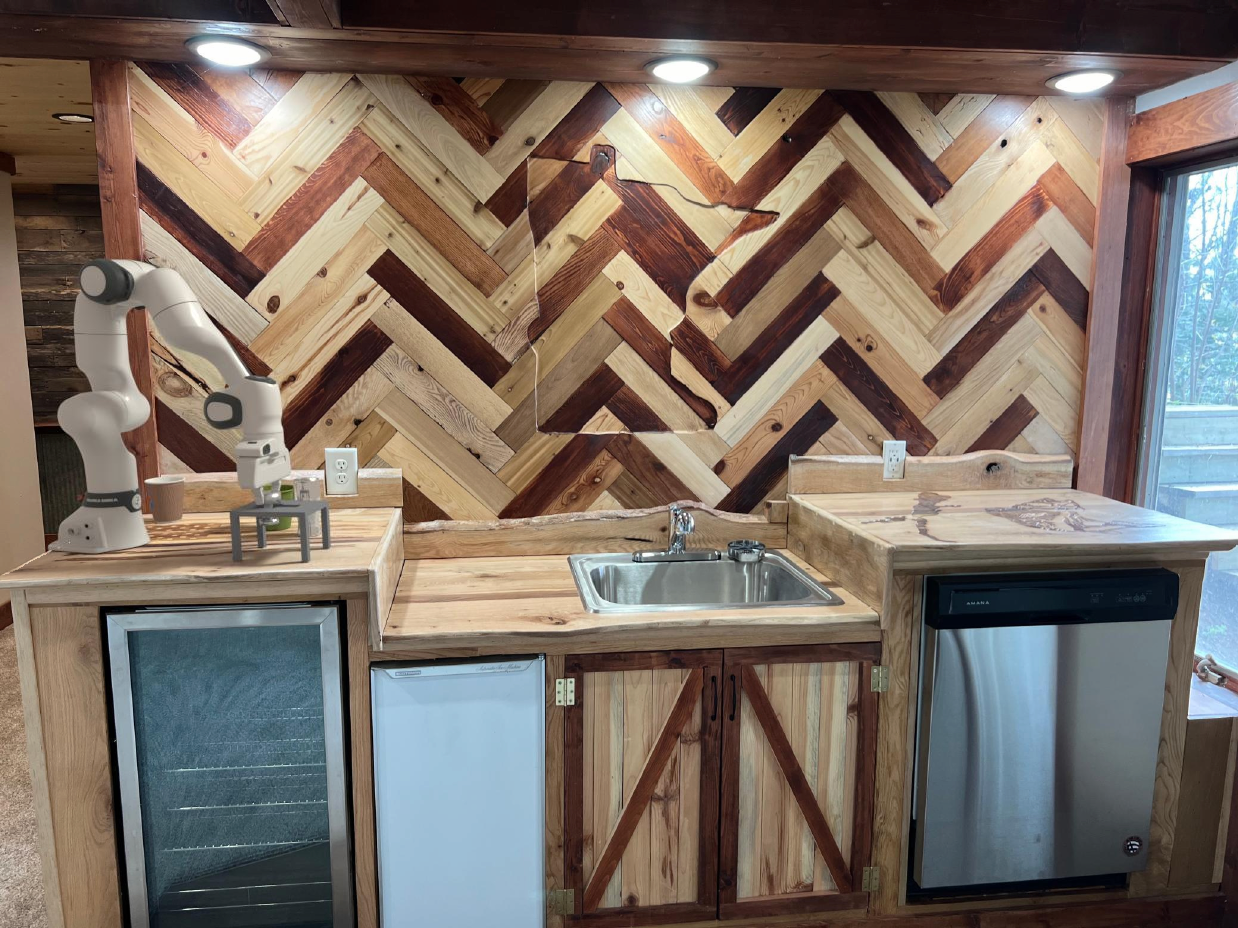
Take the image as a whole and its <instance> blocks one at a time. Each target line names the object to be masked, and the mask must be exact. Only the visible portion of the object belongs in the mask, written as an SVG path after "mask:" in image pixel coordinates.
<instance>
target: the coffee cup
mask: <svg viewBox="0 0 1238 928" xmlns="http://www.w3.org/2000/svg"><path fill="white" fill-rule="evenodd" d="M185 480H186V478H185V477H184V476H161V477H159V476H158V477H153V478H148V479H145V480H144V484H145V487H146V492H147V496H148V497H147V498H148V501H149V505H150V510H151V513H152V518H153V520H154V521H153V522H154V523H155V522H157V523H156V524H172V523H171V522H174V523H178V522H181V521H182V520H183V515H184V514H183V512H184V511H183V509H184V496H185V495H184V492H185ZM180 520H181V521H180ZM177 521H178V522H177Z"/></svg>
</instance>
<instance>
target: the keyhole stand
mask: <svg viewBox="0 0 1238 928" xmlns="http://www.w3.org/2000/svg"><path fill="white" fill-rule="evenodd" d="M319 510H320V522H321V536H322V537H321V541H322V550H329V549H331V548H332V543H331V542H332V541H331V539H332V538H331V522H330V521H331V519H330V504H329V500H326V499H325V500H322V499H321V500H281V503H278V504H273V508H264V505H256V504H255V503H254V501H251V502H248V503H247V504H244V505H241V506H239V507H236V508H234V509H231V510H230V511H229V521H230V522H229V523H230V537H231V551H232V552H231V553H232V562H241V561H243V547H242V533H241V523H240V522H241V520H240V518H244V517H245V518H247V517H248V518H249V517H250V518H255V523H256V538H257V548H258V547H265V548H266V546H267V530H266V528H265V526H262V525H260V524H259V519H260V518H264V517H292V518H297V517H299V525H300V537H299V539H300V554H301V557H300V558H301V563H309V562H311V545H310V544H311V543H310V542H311V541H310V537H309V524H308V516H309V515H311V514H313V513H315V512H317V511H319ZM330 547H331V548H330Z"/></svg>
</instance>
